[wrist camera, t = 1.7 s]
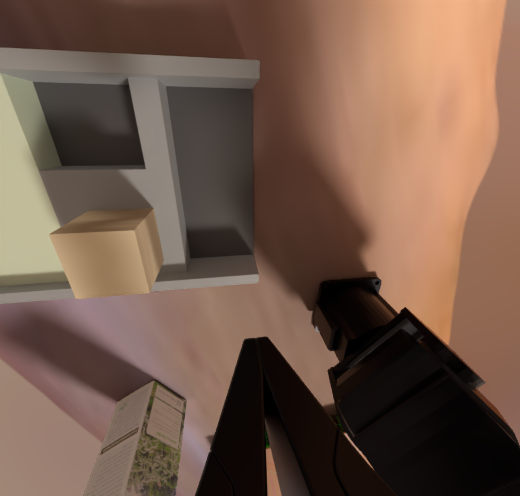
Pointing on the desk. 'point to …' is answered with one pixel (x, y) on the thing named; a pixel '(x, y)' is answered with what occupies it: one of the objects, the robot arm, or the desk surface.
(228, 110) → the tray
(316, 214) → the desk surface
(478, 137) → the desk surface
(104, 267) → the wooden cube
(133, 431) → the syrup box
